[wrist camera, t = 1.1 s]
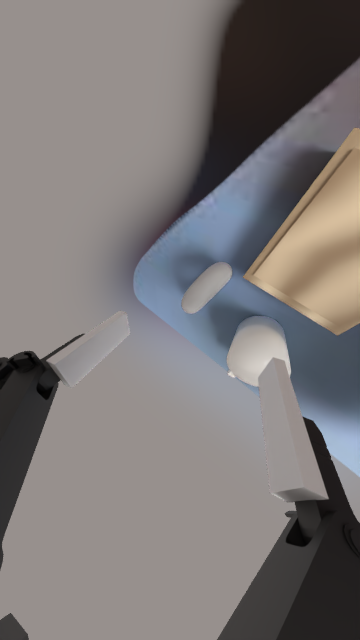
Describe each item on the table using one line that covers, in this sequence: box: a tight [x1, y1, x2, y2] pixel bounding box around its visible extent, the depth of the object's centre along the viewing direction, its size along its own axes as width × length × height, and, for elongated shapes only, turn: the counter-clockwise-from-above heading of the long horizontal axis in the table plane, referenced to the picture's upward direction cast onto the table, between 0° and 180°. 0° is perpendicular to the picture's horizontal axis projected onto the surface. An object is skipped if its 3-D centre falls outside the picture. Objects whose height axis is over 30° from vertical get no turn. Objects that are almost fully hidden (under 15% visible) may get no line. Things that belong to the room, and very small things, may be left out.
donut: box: [182, 262, 232, 314], centre depth 23 cm, size 10×4×10 cm, turn 144°
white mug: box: [227, 316, 291, 387], centre depth 24 cm, size 8×11×9 cm
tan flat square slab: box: [243, 128, 360, 336], centre depth 16 cm, size 14×14×4 cm
